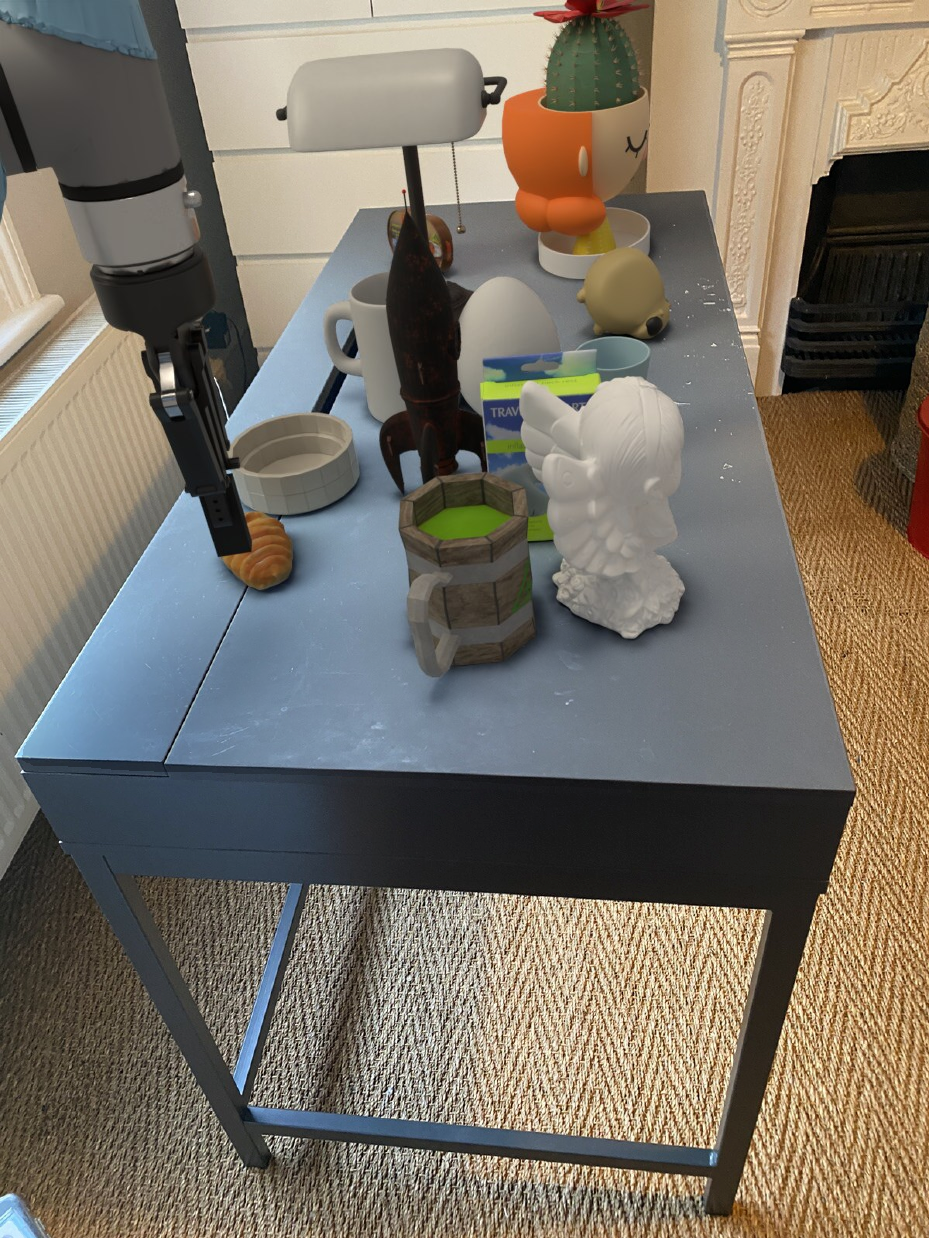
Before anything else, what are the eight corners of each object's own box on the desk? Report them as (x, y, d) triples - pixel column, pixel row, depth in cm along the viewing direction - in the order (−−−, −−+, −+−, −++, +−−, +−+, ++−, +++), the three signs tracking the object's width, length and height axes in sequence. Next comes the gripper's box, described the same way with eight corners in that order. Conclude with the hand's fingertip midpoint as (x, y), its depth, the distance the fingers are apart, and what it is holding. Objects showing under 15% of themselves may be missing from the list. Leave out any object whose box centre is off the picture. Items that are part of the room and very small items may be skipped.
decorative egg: (570, 382, 112) (567, 257, 103) (551, 433, 103) (545, 302, 94) (473, 379, 115) (461, 257, 106) (446, 428, 107) (430, 301, 97)
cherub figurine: (703, 642, 76) (723, 423, 63) (551, 662, 76) (540, 447, 63) (663, 548, 86) (672, 342, 73) (529, 566, 86) (514, 363, 73)
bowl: (236, 527, 95) (223, 486, 92) (242, 462, 106) (230, 423, 102) (363, 506, 96) (355, 464, 93) (357, 444, 106) (349, 404, 103)
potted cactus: (654, 226, 150) (662, -36, 127) (642, 280, 134) (649, -10, 111) (523, 230, 155) (508, -22, 133) (496, 282, 139) (474, 5, 116)
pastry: (311, 578, 88) (302, 546, 85) (243, 604, 86) (232, 571, 83) (281, 530, 94) (272, 499, 92) (217, 553, 92) (206, 522, 90)
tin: (389, 260, 151) (381, 206, 145) (405, 254, 152) (397, 200, 147) (443, 282, 141) (436, 225, 136) (459, 276, 142) (454, 219, 137)
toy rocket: (434, 530, 91) (388, 215, 72) (385, 495, 97) (331, 194, 78) (504, 495, 95) (478, 185, 76) (453, 463, 101) (417, 167, 81)
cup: (592, 468, 97) (591, 375, 90) (564, 435, 103) (562, 346, 96) (659, 451, 98) (663, 358, 92) (628, 419, 104) (629, 330, 98)
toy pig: (617, 372, 121) (680, 325, 113) (555, 303, 118) (616, 249, 110) (636, 338, 127) (697, 290, 120) (578, 271, 124) (637, 218, 116)
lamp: (312, 369, 122) (247, 78, 100) (356, 295, 140) (310, 35, 118) (511, 364, 118) (489, 57, 96) (531, 289, 136) (516, 16, 114)
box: (493, 546, 89) (476, 378, 77) (493, 521, 92) (477, 357, 80) (605, 539, 88) (604, 368, 76) (601, 514, 91) (600, 347, 80)
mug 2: (443, 576, 86) (426, 464, 78) (555, 595, 82) (550, 479, 74) (369, 693, 75) (341, 577, 67) (494, 721, 71) (481, 601, 64)
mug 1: (472, 384, 114) (460, 268, 105) (443, 430, 106) (428, 308, 97) (355, 378, 119) (334, 266, 110) (320, 421, 111) (293, 304, 102)
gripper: (196, 281, 55) (280, 591, 70) (210, 216, 65) (282, 499, 80) (68, 298, 55) (181, 606, 70) (103, 230, 65) (195, 512, 80)
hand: (235, 549), depth 75 cm, fingers closed
